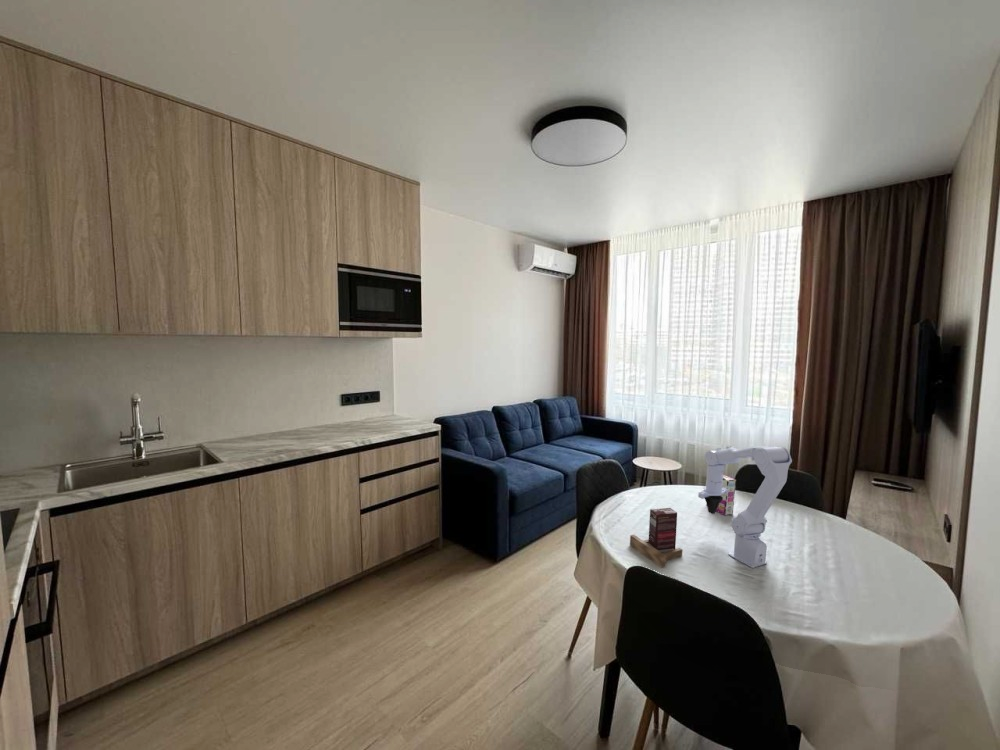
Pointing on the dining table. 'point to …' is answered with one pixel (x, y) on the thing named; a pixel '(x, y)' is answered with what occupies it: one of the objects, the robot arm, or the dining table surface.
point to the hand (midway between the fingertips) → (711, 512)
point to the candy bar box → (727, 496)
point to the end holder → (653, 551)
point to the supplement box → (662, 529)
